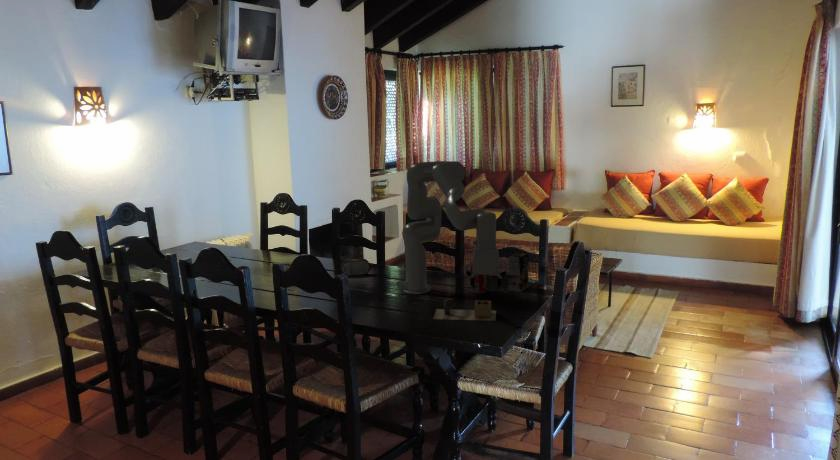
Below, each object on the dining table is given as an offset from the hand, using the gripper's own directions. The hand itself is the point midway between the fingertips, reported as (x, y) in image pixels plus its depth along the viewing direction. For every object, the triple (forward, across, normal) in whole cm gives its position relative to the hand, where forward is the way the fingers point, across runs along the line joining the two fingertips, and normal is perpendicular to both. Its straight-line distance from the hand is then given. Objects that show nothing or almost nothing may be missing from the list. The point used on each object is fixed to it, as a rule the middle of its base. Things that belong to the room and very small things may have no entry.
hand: (485, 287), depth 233 cm
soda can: (+13, -4, +35) cm, 37 cm away
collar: (+11, -1, 0) cm, 11 cm away
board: (+12, -8, 0) cm, 15 cm away
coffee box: (+13, +14, +41) cm, 45 cm away
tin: (+13, -66, +59) cm, 90 cm away
